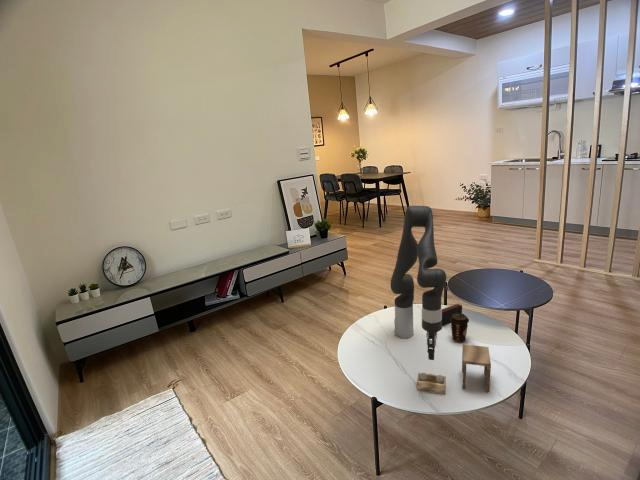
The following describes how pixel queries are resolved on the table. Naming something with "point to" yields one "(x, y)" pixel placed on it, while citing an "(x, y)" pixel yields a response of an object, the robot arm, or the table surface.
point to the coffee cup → (459, 327)
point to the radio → (450, 313)
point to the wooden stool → (476, 361)
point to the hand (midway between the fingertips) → (431, 353)
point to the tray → (431, 383)
